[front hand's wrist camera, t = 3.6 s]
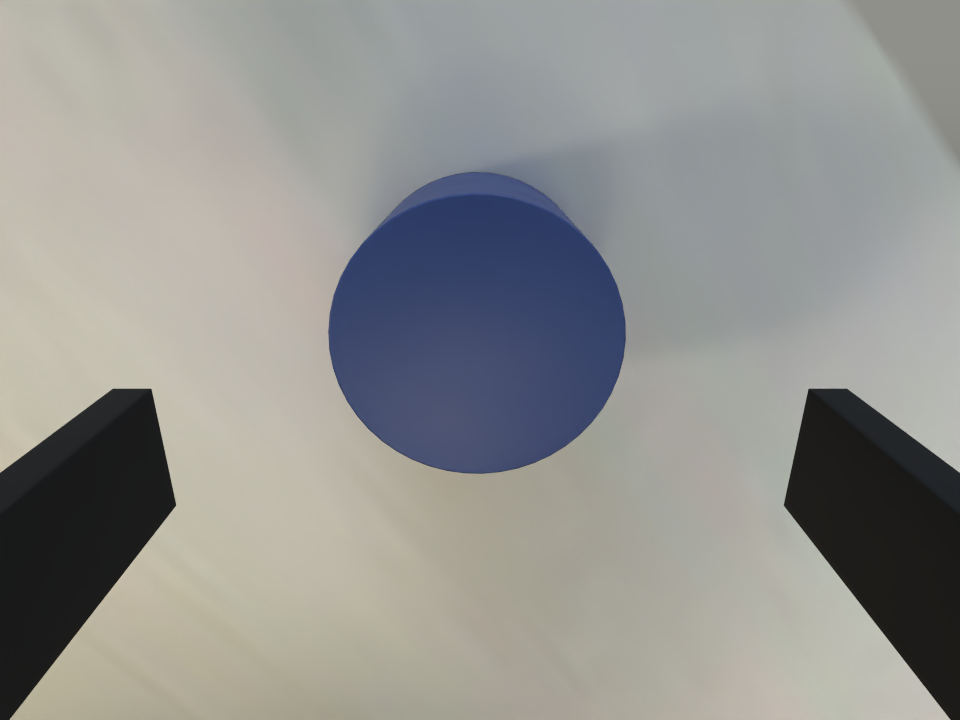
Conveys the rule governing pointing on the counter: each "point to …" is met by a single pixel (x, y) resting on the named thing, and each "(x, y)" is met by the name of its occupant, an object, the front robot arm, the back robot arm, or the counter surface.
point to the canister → (477, 327)
